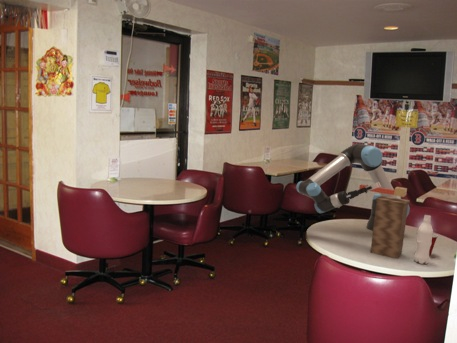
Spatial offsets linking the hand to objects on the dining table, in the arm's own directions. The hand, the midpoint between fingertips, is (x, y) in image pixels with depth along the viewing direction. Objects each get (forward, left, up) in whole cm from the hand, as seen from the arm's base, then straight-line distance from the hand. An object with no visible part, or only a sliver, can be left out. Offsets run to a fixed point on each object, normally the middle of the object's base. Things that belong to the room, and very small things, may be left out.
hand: (378, 184), depth 247 cm
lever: (+2, +2, -4) cm, 5 cm away
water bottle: (+20, +18, -37) cm, 46 cm away
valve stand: (+6, +6, -37) cm, 38 cm away
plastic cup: (+8, +28, -37) cm, 47 cm away
